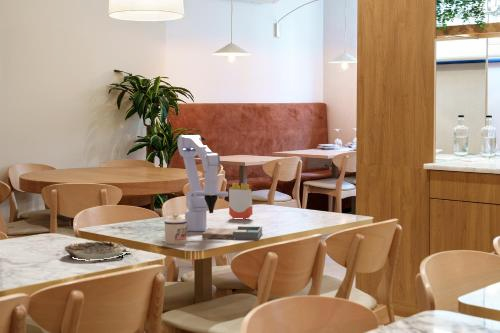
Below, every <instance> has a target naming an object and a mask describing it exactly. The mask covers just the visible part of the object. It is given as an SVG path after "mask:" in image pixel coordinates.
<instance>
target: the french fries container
mask: <svg viewBox="0 0 500 333" xmlns="http://www.w3.org/2000/svg"><path fill="white" fill-rule="evenodd" d="M231 185H232V186H229V189H228V215H229V216H230V217H231V218H232V219H233V218H243V219H245V220H247V219H246V218H248V219H249V218H250V217H251V216H253V199H252V197H253V195H252V188H250V184H246V185H245V184H244V183H243V182H242V183H240V185H239V183H238V182H232V184H231Z"/></svg>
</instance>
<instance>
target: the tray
mask: <svg viewBox="0 0 500 333" xmlns="http://www.w3.org/2000/svg"><path fill="white" fill-rule="evenodd" d="M237 229H238V230H247V231H248V230H257V232H233V239H232V240H259V239H260V238H261V236H262V234H263V226H244V225H243V226H239V225H238V226H237ZM234 238H235V239H234Z"/></svg>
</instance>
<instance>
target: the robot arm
mask: <svg viewBox="0 0 500 333" xmlns="http://www.w3.org/2000/svg"><path fill="white" fill-rule="evenodd" d="M176 145H177V148H178V152H179V155H180V156H181V157H183V159H182V160H183V162H184V167H185V172H186V176H187V181H188V184H189V186H188V187H189V191H188V192H187V193H186V195H185V204H186V205H185V206H186V207H187V210H185V213H184V219H185V220H186V221H187V223H186V224H187V225H188V231H187V232H205V231H206V230H207V229H209V228H210V227H207V226H208V225H207V211H208V214H213V213H214V210H215V207H216V202H217V200H218V199H219V197H226V198H227V197H229V191H221V190H220V191H218V190H219V187H218V186H219V182H218V177H219V176H218V175H219V174H218V173H219V170H218V167H219V166H220V164H221V158H220V155H219V153H218V152H213V151H212V150H211V149H210V148H209V147H208V145H204V144H203V143H202V137H201V136H200V134H193V135H191V134H190V135H189V134H187V135H183V134H181V135H179V136H177V144H176ZM196 156H198V157H199V159H200V160H201V164H202V171H203V173H204V174H203V176H204V181H203V182H204V185H203V186H204V188H202V185H201V181H200V177H199V173H198V169H197V164H196V159H195V157H196Z"/></svg>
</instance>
